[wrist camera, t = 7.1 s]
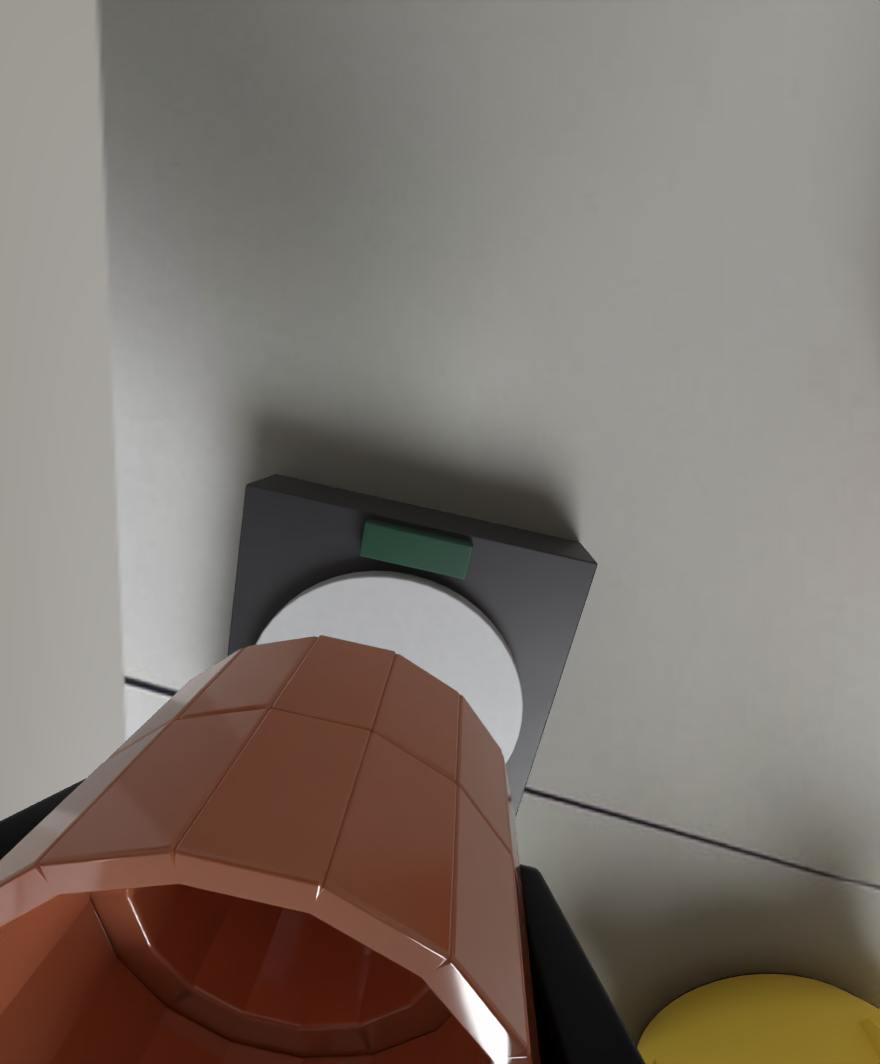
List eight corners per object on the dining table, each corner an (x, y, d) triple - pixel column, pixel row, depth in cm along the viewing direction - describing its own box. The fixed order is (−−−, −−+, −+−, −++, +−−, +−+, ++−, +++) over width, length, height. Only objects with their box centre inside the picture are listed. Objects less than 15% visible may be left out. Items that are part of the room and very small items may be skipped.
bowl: (163, 872, 10) (-72, 1224, 6) (182, 588, 8) (-131, 780, 4) (466, 940, 10) (463, 1350, 6) (548, 668, 8) (633, 953, 4)
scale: (242, 733, 21) (205, 787, 18) (275, 473, 18) (236, 487, 15) (503, 792, 21) (509, 855, 18) (581, 542, 18) (603, 569, 15)
